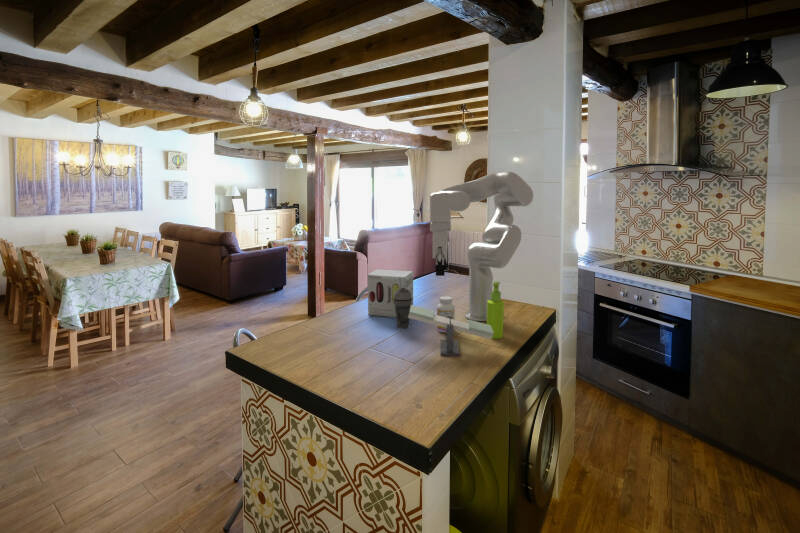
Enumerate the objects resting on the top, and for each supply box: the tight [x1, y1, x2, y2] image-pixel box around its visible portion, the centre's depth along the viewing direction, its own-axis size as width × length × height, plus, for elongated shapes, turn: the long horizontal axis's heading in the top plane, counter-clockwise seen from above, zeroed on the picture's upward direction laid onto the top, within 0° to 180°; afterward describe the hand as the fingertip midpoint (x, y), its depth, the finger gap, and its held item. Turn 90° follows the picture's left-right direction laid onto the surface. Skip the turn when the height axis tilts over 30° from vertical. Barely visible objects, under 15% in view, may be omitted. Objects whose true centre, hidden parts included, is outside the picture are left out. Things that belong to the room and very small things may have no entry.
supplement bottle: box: [436, 295, 456, 334], centre depth 156 cm, size 7×7×13 cm
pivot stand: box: [439, 316, 460, 357], centre depth 138 cm, size 6×12×10 cm, turn 175°
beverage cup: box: [394, 277, 412, 330], centre depth 160 cm, size 7×7×20 cm
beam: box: [408, 304, 494, 340], centre depth 137 cm, size 28×8×3 cm, turn 86°
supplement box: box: [367, 268, 414, 318], centre depth 179 cm, size 17×13×18 cm
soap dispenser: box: [486, 281, 505, 340], centre depth 150 cm, size 6×7×20 cm
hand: (440, 272), depth 153 cm, fingers open, 9 cm apart
